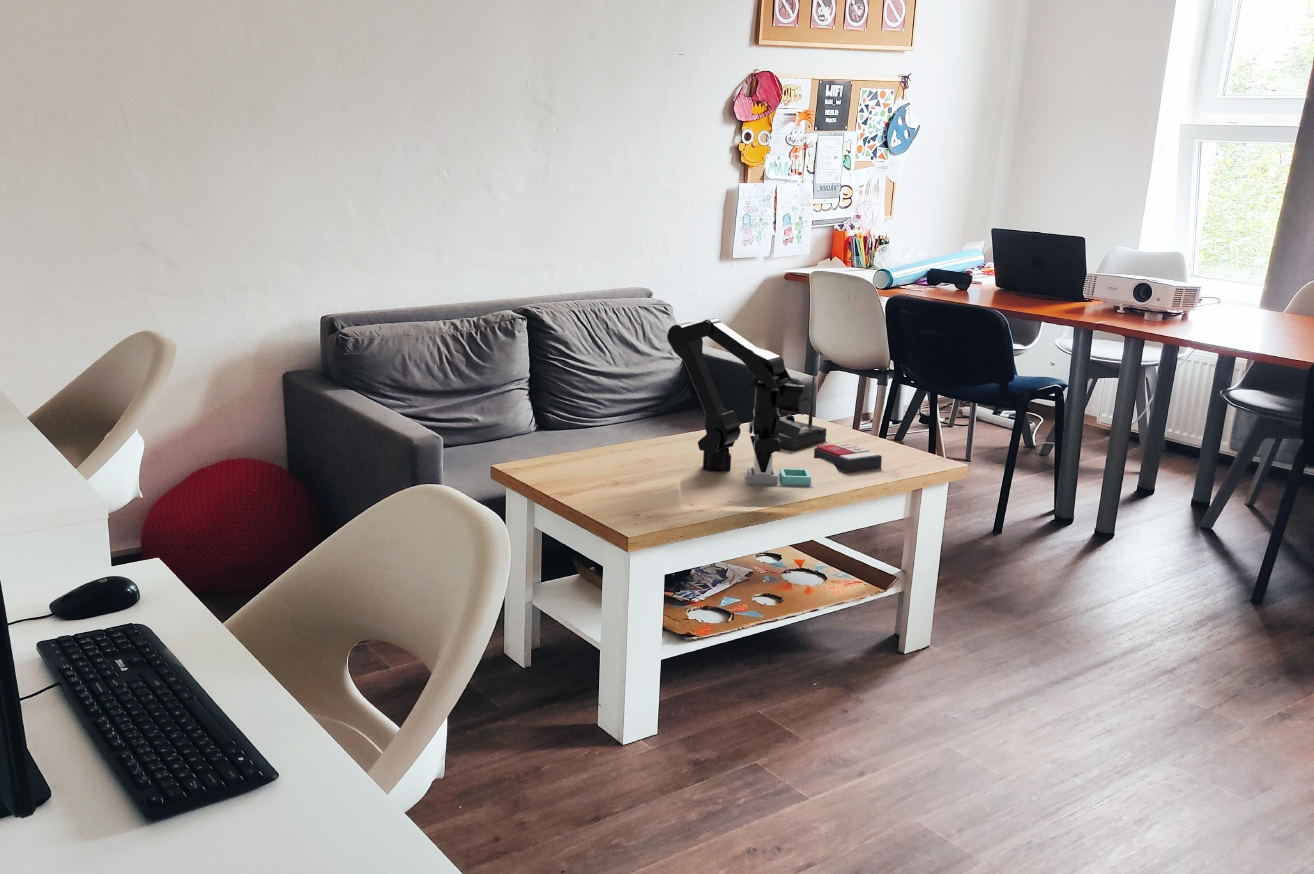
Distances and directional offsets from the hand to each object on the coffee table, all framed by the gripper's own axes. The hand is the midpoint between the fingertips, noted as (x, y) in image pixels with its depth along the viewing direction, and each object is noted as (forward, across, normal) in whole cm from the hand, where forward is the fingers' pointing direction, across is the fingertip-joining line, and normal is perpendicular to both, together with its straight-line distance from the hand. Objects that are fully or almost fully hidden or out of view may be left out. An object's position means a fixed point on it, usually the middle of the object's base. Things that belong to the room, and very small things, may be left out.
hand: (762, 469), depth 265 cm
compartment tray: (+4, 0, -4) cm, 5 cm away
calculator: (+4, +20, -24) cm, 32 cm away
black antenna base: (+4, +40, -14) cm, 43 cm away
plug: (+2, 0, 0) cm, 2 cm away
